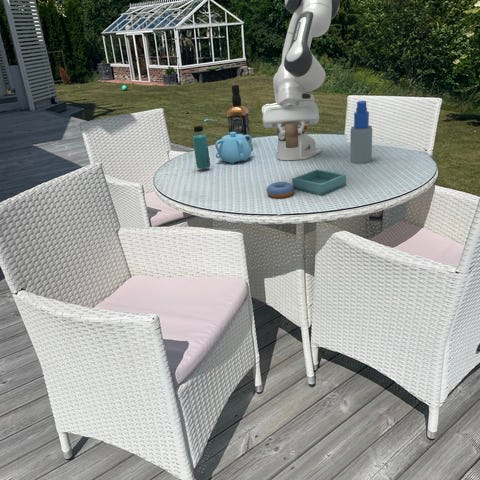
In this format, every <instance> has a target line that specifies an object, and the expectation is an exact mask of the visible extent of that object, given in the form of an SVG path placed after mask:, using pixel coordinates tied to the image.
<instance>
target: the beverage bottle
mask: <svg viewBox="0 0 480 480" xmlns="http://www.w3.org/2000/svg"><path fill="white" fill-rule="evenodd" d="M203 131H204V127H203V125H197V126H193V132H194V135H193V136H192V141H193V147H194V156H195V157H194V158H195V164H196V167H197V169H200V170H203V169H209V168H210V167H211V158H210V152H209V145H208V137H207V134H206V133H203Z"/></svg>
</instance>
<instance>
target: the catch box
mask: <svg viewBox="0 0 480 480" xmlns="http://www.w3.org/2000/svg"><path fill="white" fill-rule="evenodd" d="M291 179H292V182H291V184H292V185H293V187H294V190H296V191H301V192H304V193H309V194H312V195H313V194H314V195H316V196H324V195H327V194H329V193H331V192H333V191H336V190H338V189H340V188H342V187H345V186H346V185H347V175H346V174H343V173H339V172H338V173H337V172H332V171H328V170H322V169H314V170H312V171H311V170H310V171H309V172H306V173H304V174H301V175H298V176H295V177H294V178H291Z"/></svg>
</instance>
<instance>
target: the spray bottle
mask: <svg viewBox="0 0 480 480" xmlns="http://www.w3.org/2000/svg"><path fill="white" fill-rule="evenodd" d="M369 118H370V112H369V111H368V107H367V101H365V100H360V101H359V100H358V101H357V102H356V109H355V111H354V112H353V126H351V128H350V146H349V147H350V152H349V153H350V156H349V157H350V163H351V164H358V165H359V164H361V165H363V164H368V163H371V162H372V160H373V159H372V157H373V155H372V154H373V151H372V150H373V126H371V125H369V121H370V119H369Z"/></svg>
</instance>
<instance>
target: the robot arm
mask: <svg viewBox="0 0 480 480" xmlns="http://www.w3.org/2000/svg"><path fill="white" fill-rule="evenodd" d="M284 7H285V9H286V10H287V11H288V12H289V13H292V17H291V19H290V21H289V26H288V28H287V32H286V36H285V40H284V44H283V48H282V52H281V53H282V56H281V63H280V65H279V67H278V69H277V72H276V73H275V74H274V76H273V79H272V83H273V84H272V85H273V92H274V93H273V94H274V99H275V100H274V101H275V103H274V102H273V103H267V104H266V103H265V105H263V106H261V114H262V126H263V127H264V129H270V128H276V129H277V130H276V133H277V134H276V135H277V148H276V149H277V151H276V157H275V158H276V159H277V160H281V161H297V160H307V159H309V158H311V157H315V155H317V154H319V153H321V152H322V150H321V149H320V148H318V147H317V145H316V141H315V139H314V138H313V137H311V136H310V135H308V134H307V133H306V131H307V130H309V129H310V128H309V127H310V126H309V125H316V124H318V123H319V122H320V113H319V112H320V111H319V108H318V104H317V102H316V101H315V96H314V94H312V93H310V92H314V91H317V90H318V89H320V87H322V86H323V84H324V83H325V81H326V77H327V74H326V73H327V72H326V70H325V69H324V68H323V66H322V65H321V64H320V62H319V61H318V59H317V58H316V57H315V55H314V54H313V53H312V50H311V49H310V48H311V44H312V40H313V38H318V37H321V36H323V35H325V34H326V33H327V32H328V31H329V28H330V25H331V22H332V20H333V19H335V17H336V16H337V14H338V12H339V10H340V0H284ZM287 123H297V126H298V147H296V148H286V141H285V124H287Z"/></svg>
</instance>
